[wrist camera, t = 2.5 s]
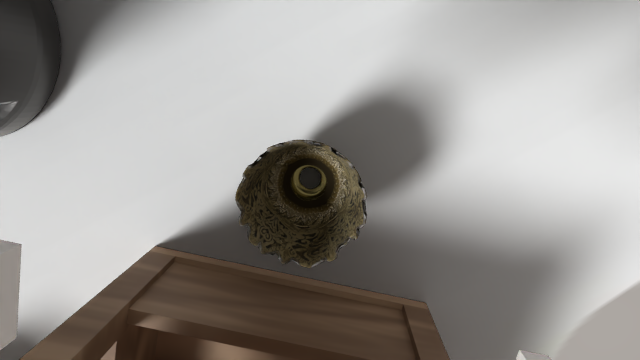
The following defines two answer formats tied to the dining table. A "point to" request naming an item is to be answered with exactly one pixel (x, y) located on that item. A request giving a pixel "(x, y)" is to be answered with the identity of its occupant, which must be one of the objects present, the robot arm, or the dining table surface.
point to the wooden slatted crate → (238, 317)
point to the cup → (301, 203)
